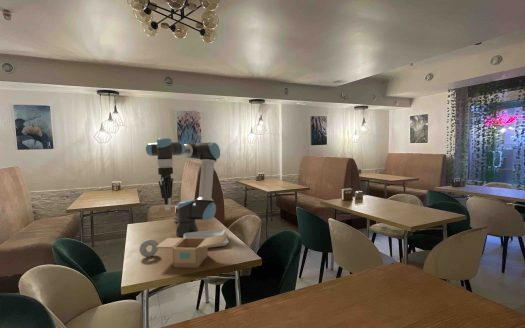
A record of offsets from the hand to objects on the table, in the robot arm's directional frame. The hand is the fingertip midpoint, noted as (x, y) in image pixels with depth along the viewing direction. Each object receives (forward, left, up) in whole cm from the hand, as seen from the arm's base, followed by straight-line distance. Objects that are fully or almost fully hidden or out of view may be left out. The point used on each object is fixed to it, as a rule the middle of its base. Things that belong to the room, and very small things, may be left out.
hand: (167, 209), depth 147 cm
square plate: (-23, +12, -27) cm, 38 cm away
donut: (0, -12, -27) cm, 29 cm away
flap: (+5, +27, -15) cm, 31 cm away
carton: (+5, +9, -26) cm, 29 cm away
